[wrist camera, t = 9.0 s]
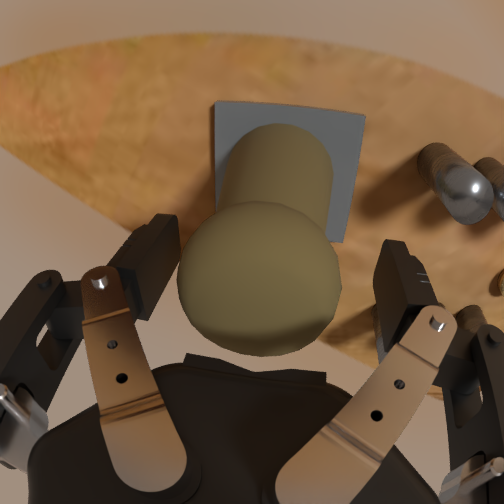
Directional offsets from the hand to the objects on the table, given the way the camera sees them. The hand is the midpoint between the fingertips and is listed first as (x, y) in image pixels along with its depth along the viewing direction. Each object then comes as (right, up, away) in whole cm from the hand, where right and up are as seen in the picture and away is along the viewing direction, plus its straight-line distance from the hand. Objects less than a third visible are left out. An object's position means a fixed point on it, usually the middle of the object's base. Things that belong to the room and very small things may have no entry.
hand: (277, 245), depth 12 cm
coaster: (+1, +4, +6) cm, 8 cm away
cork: (+1, +4, +6) cm, 7 cm away
